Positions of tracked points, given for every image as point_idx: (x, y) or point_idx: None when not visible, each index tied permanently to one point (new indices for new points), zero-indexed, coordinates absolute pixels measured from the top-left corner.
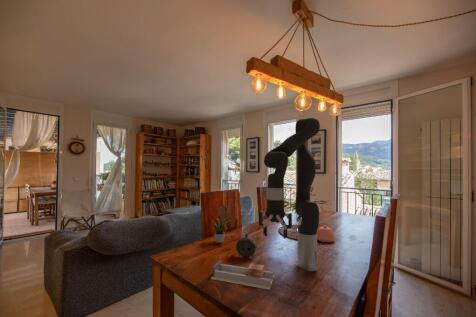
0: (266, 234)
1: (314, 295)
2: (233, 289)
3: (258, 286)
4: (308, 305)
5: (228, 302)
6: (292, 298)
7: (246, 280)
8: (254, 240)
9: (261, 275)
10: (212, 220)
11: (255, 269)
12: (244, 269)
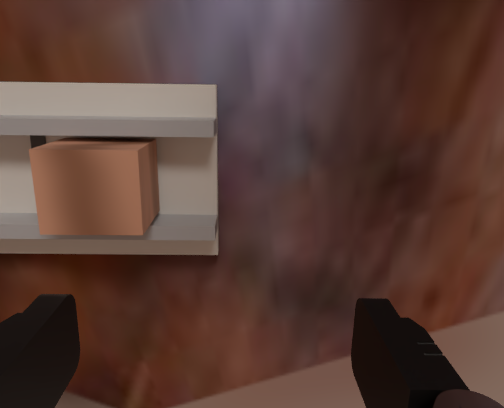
0: (68, 362)
1: (449, 205)
2: (34, 283)
3: (153, 245)
4: (408, 295)
5: None
6: (336, 265)
7: None
8: None
9: (150, 223)
10: None
11: (97, 234)
12: (3, 134)
